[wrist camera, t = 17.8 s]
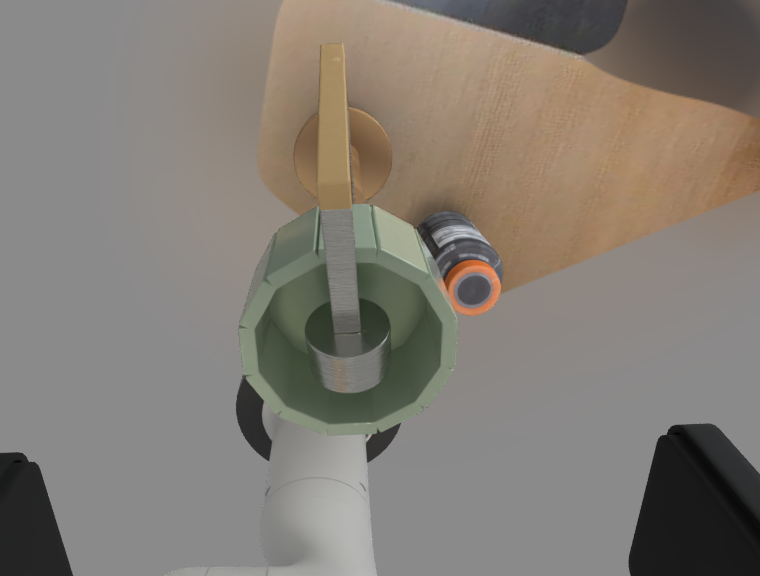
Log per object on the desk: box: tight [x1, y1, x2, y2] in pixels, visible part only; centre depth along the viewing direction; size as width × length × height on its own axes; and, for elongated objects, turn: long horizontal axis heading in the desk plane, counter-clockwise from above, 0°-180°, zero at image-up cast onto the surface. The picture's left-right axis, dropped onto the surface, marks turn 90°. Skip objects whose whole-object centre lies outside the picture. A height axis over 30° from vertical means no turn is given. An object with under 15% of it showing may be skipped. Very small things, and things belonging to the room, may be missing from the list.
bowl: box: [238, 204, 458, 436], centre depth 25 cm, size 8×8×5 cm
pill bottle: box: [417, 211, 503, 316], centre depth 49 cm, size 6×6×11 cm
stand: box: [294, 107, 392, 204], centre depth 39 cm, size 8×8×26 cm
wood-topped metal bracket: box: [304, 43, 392, 393], centre depth 24 cm, size 12×3×8 cm
